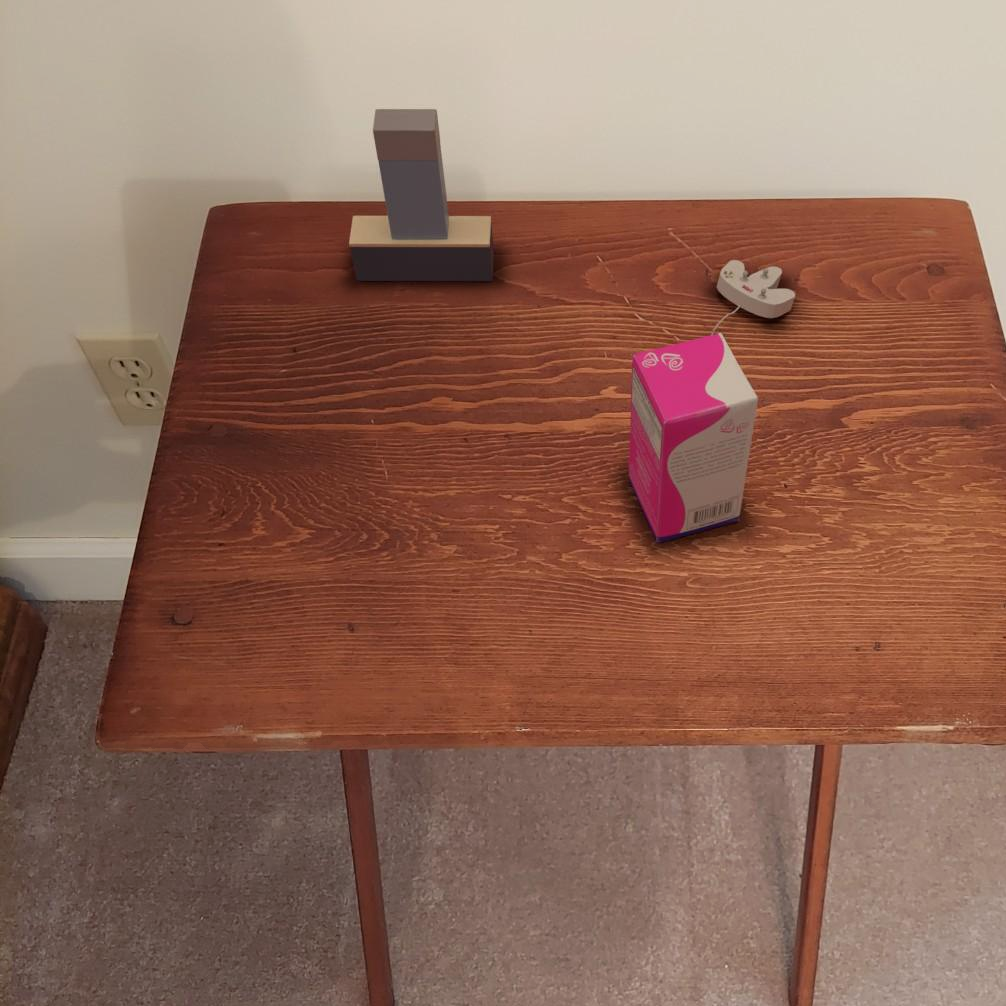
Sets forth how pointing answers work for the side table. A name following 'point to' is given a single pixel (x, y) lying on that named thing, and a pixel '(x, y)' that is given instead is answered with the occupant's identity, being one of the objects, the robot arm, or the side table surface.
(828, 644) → the side table surface
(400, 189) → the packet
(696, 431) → the supplement box
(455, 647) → the side table surface
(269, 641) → the side table surface
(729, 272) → the game controller
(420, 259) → the stand
